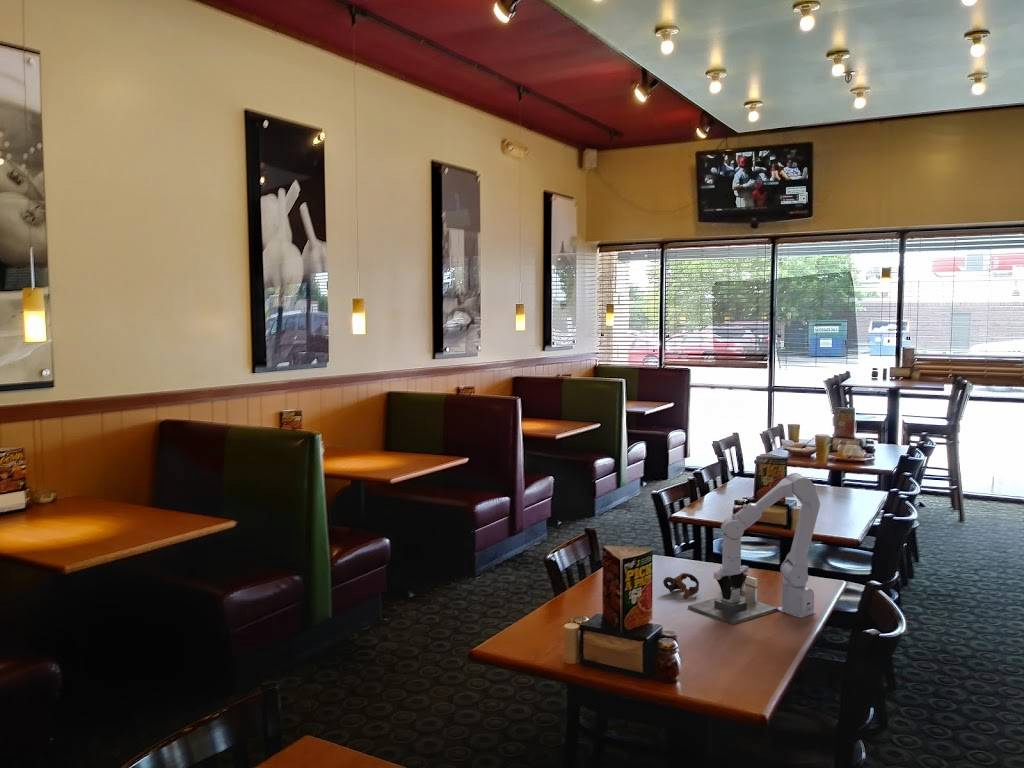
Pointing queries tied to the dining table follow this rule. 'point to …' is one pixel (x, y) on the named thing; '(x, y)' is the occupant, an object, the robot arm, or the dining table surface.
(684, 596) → the broken terracotta ring
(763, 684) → the dining table surface
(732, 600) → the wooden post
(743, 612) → the stand base
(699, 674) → the dining table surface
